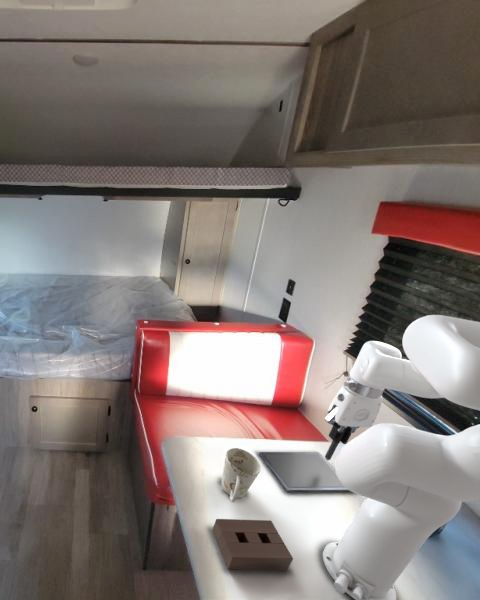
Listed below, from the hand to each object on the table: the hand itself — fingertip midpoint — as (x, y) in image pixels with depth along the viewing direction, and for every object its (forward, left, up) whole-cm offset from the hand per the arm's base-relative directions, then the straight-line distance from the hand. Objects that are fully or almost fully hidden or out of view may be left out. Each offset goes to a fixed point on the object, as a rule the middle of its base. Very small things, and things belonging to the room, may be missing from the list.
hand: (337, 439), depth 94 cm
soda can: (+5, -21, -12) cm, 25 cm away
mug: (-31, +10, -12) cm, 35 cm away
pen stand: (-41, 0, -12) cm, 43 cm away
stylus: (0, 0, -8) cm, 8 cm away
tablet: (-5, +3, -12) cm, 14 cm away
